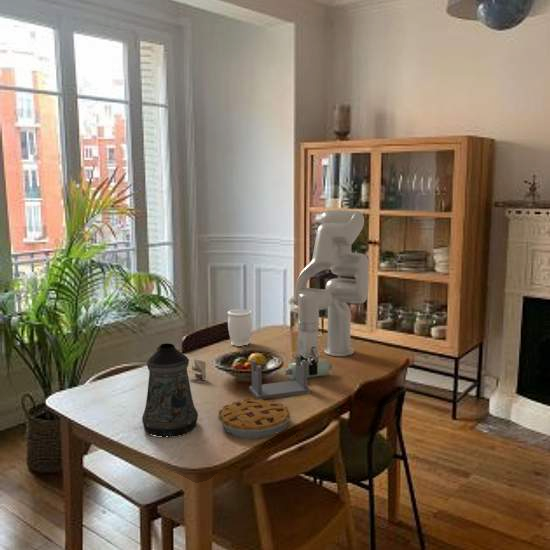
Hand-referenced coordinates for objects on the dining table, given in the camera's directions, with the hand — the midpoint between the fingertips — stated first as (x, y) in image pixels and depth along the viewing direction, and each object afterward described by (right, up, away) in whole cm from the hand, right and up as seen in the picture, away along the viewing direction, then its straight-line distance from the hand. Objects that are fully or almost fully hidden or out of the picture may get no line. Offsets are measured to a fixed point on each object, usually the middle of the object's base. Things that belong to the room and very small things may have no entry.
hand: (308, 370), depth 216 cm
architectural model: (-41, -4, 0) cm, 41 cm away
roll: (0, -2, +1) cm, 3 cm away
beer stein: (-45, -10, -39) cm, 61 cm away
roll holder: (-11, -5, -13) cm, 18 cm away
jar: (-28, +5, +43) cm, 51 cm away
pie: (-19, -10, -40) cm, 45 cm away
